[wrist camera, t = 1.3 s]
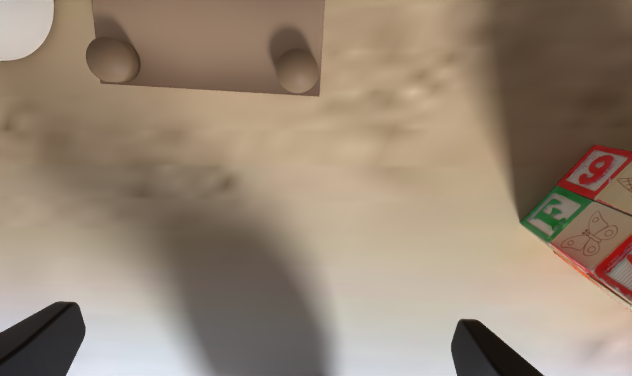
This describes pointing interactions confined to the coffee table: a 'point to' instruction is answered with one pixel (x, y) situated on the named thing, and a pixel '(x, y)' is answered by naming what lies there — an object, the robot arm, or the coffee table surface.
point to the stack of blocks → (592, 220)
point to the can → (23, 26)
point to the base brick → (209, 44)
